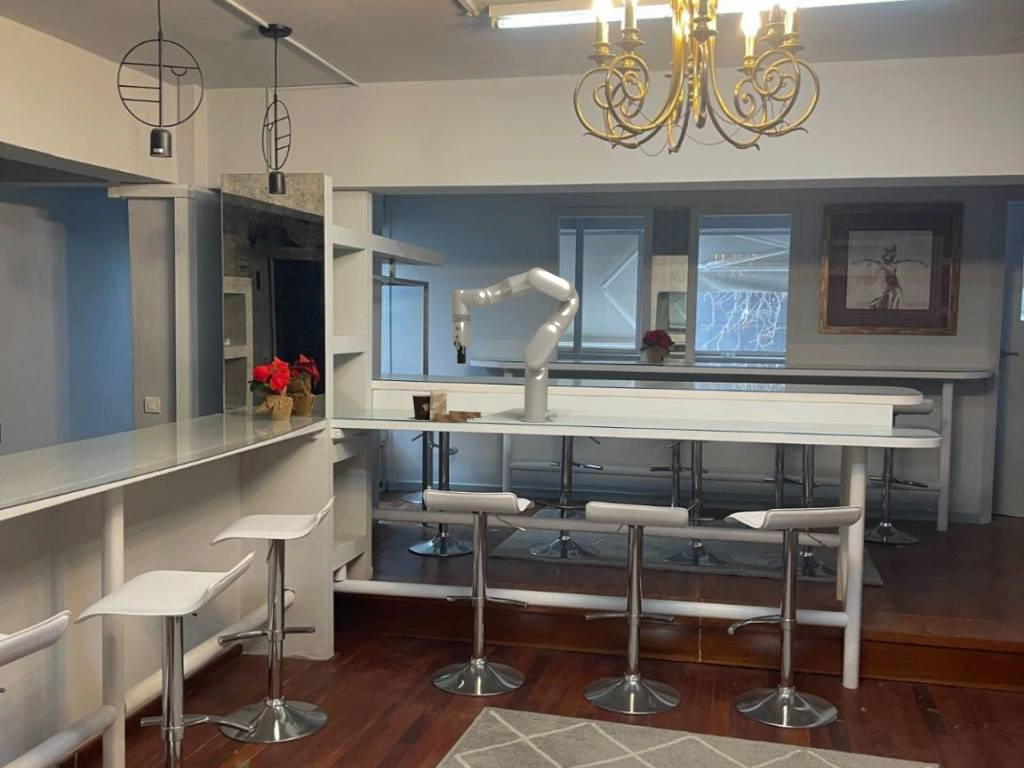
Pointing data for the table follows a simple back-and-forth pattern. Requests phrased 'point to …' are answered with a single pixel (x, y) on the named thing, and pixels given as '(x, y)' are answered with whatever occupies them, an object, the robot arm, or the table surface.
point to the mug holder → (456, 416)
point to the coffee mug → (421, 407)
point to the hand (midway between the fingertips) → (461, 363)
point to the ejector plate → (438, 402)
